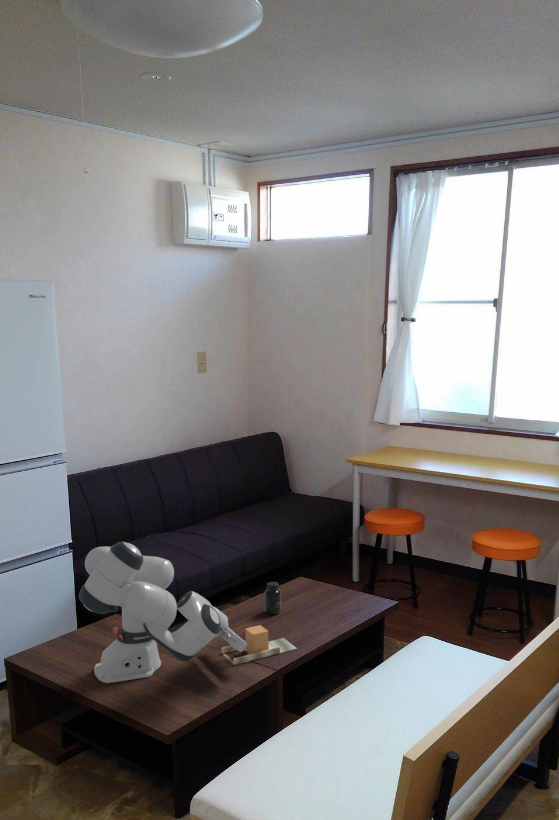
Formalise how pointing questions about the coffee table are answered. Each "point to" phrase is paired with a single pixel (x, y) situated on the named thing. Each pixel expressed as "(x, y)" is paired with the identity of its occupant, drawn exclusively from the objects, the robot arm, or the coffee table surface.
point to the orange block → (256, 639)
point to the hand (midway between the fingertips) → (241, 645)
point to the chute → (274, 648)
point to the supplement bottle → (272, 599)
